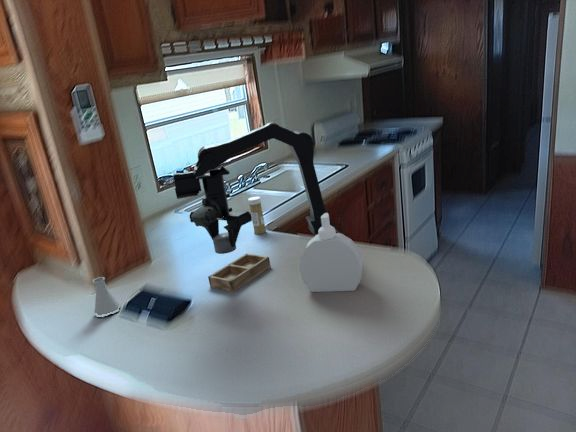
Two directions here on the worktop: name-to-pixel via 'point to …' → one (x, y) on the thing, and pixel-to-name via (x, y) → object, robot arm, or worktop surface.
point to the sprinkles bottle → (257, 215)
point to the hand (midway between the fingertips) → (225, 245)
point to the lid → (222, 243)
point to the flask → (104, 298)
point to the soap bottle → (331, 261)
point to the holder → (239, 272)
